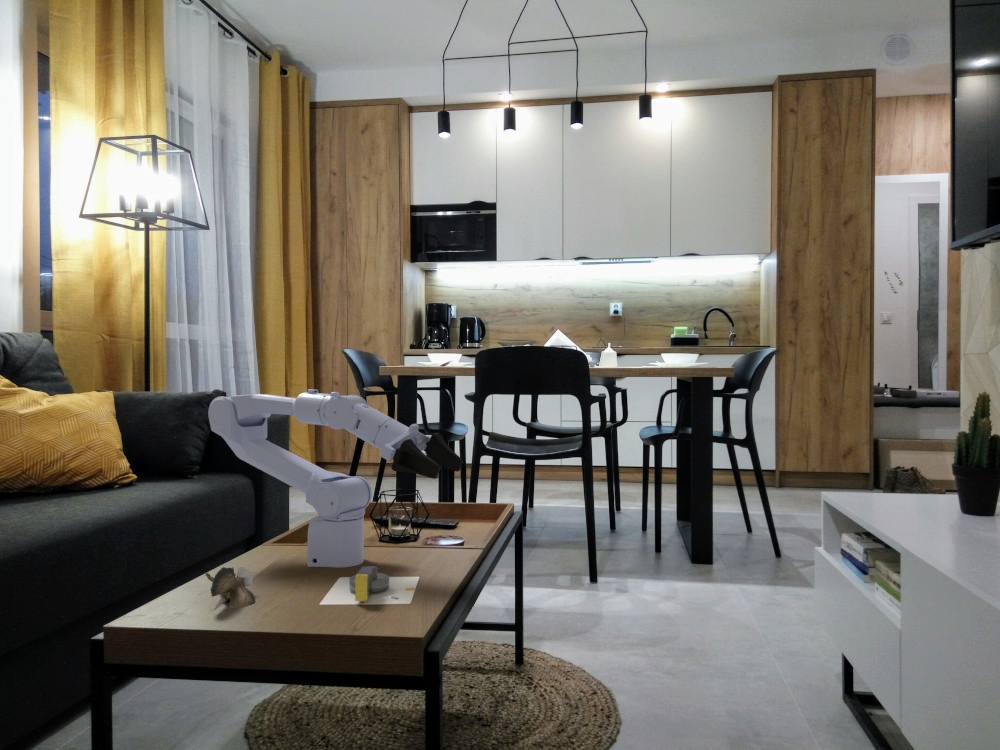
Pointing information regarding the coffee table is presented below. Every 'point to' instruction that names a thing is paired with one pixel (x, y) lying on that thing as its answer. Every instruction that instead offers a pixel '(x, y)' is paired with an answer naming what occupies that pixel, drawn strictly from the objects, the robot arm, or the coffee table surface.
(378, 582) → the dial
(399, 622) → the coffee table surface
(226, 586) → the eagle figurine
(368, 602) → the dial plate
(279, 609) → the coffee table surface
